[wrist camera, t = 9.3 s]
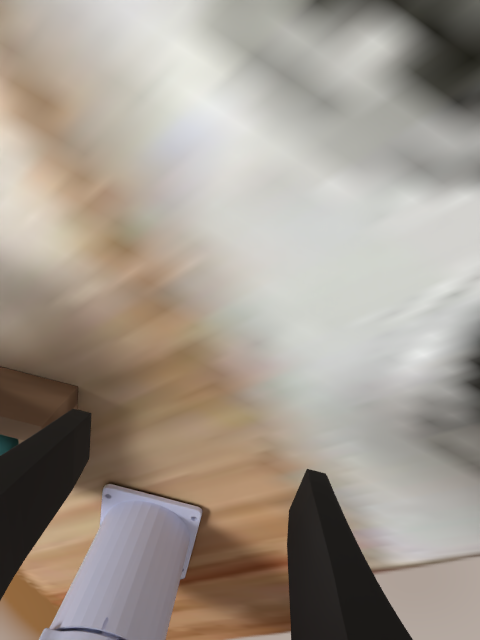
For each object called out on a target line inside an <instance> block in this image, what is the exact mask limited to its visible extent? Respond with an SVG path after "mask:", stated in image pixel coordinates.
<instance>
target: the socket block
mask: <svg viewBox="0 0 480 640" xmlns="http://www.w3.org/2000/svg"><path fill="white" fill-rule="evenodd" d="M77 404H78V387H77V386H73V385H69V384H65V383H61V382H57V381H54V380H50V379H46V378H42V377H38V376H34V375H30V374H26V373H22V372H19V371H15V370H11V369H7V368H3V367H0V434H1V435H4V436H8V437H12V438H16V439H18V441H19V444H20V443H21V442H23V441H24V440H26V439H28V438H29V437H31V436H32V435H34V434H35V433H37V432H38V431H40V430H41V429H43V428H44V427H46V426H47V425H49V424H50V423H52V422H53V421H55V420H56V419H58V418H59V417H61V416H62V415H64V414H65V413H67V412H68V411H70V410H72V409H77Z"/></svg>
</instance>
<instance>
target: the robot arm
mask: <svg viewBox="0 0 480 640" xmlns="http://www.w3.org/2000/svg"><path fill="white" fill-rule="evenodd" d="M90 429H91V413H88V412H84V411H80V410H77V409H72V410H70V411H68V412H67V413H65V414H64V415H62V416H61V417H59V418H58V419H56V420H55V421H53V422H52V423H50V424H49V425H47V426H46V427H44V428H43V429H41V430H40V431H38V432H37V433H35V434H34V435H32V436H31V437H29V438H28V439H26V440H24V441H23V442H21V443H20V444H18V445H17V446H15V447H13V448H12V449H10V450H9V451H7V452H5V453H4V454H2V455H1V456H0V600H1V598H2V596H3V595H4V593H5V591H6V589H7V587H8V586H9V584H10V582H11V581H12V579H13V577H14V575H15V574H16V572H17V571H18V569H19V568H20V566H21V565H22V563H23V561H24V560H25V558H26V557H27V555H28V554H29V552H30V551H31V550H32V548H33V547H34V545H35V544H36V542H37V541H38V539H39V538H40V536H41V535H42V533H43V532H44V531H45V529H46V528H47V526H48V525H49V523H50V522H51V520H52V519H53V517H54V516H55V515H56V513H57V512H58V510H59V509H60V507H61V506H62V504H63V503H64V501H65V500H66V498H67V497H68V495H69V494H70V492H71V491H72V489H73V488H74V486H75V484H76V482H77V480H78V478H79V477H80V475H81V473H82V471H83V469H84V467H85V465H86V463H87V461H88V459H89V450H90ZM201 516H202V509H201V508H200V507H197V506H194V505H190V504H186V503H182V502H178V501H174V500H171V499H167V498H163V497H159V496H155V495H151V494H148V493H144V492H140V491H136V490H132V489H128V488H124V487H121V486H117V485H113V484H106V485H105V486H104V488H103V493H102V506H101V519H100V528H99V530H98V532H97V534H96V536H95V538H94V540H93V542H92V544H91V546H90V548H89V550H88V552H87V554H86V556H85V558H84V560H83V562H82V564H81V566H80V568H79V570H78V572H77V574H76V576H75V578H74V580H73V582H72V584H71V586H70V588H69V590H68V592H67V594H66V596H65V598H64V600H63V602H62V604H61V606H60V608H59V610H58V612H57V614H56V616H55V618H54V620H53V622H52V624H51V626H50V628H45V629H44V630H43V632H42V634H41V636H40V638H39V640H165V639H166V634H167V630H168V626H169V622H170V618H171V614H172V610H173V606H174V602H175V598H176V594H177V590H178V586H179V582H180V579H184V578H185V575H186V572H187V568H188V564H189V561H190V557H191V553H192V549H193V546H194V542H195V538H196V534H197V531H198V527H199V523H200V520H201ZM287 551H288V574H289V595H290V615H291V640H412V638H411V636H410V635H409V633H408V632H407V630H406V629H405V627H404V625H403V624H402V622H401V621H400V619H399V618H398V616H397V614H396V613H395V611H394V609H393V608H392V606H391V604H390V603H389V601H388V599H387V598H386V596H385V594H384V593H383V591H382V589H381V587H380V585H379V584H378V582H377V580H376V578H375V577H374V574H373V573H372V571H371V569H370V567H369V565H368V563H367V561H366V560H365V558H364V556H363V554H362V552H361V550H360V548H359V546H358V544H357V542H356V540H355V538H354V535H353V533H352V531H351V529H350V527H349V525H348V523H347V521H346V519H345V516H344V514H343V512H342V510H341V507H340V505H339V503H338V501H337V498H336V496H335V494H334V491H333V489H332V487H331V484H330V482H329V479H328V477H327V475H326V474H325V473H321V472H317V471H313V470H309V469H307V470H306V473H305V475H304V477H303V479H302V482H301V484H300V486H299V489H298V491H297V493H296V496H295V498H294V500H293V503H292V505H291V507H290V510H289V522H288V539H287Z"/></svg>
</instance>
